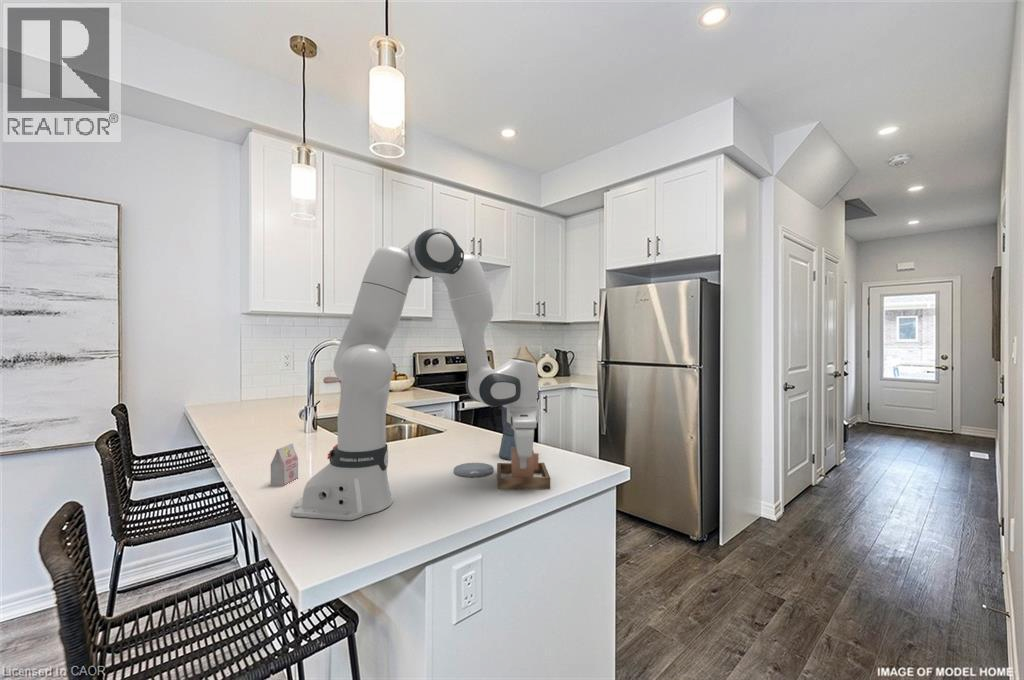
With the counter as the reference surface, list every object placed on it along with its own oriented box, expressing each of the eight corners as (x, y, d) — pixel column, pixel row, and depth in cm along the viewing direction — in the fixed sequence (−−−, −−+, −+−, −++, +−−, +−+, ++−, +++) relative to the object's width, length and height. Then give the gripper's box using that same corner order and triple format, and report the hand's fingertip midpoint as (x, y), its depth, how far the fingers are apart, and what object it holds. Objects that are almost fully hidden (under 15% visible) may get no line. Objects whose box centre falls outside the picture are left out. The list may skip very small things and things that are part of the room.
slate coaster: (451, 477, 128) (451, 475, 128) (455, 465, 140) (455, 462, 140) (493, 477, 129) (493, 474, 129) (493, 465, 141) (493, 462, 141)
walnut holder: (497, 489, 119) (497, 478, 119) (497, 473, 133) (497, 463, 133) (550, 489, 119) (550, 477, 119) (544, 472, 133) (544, 462, 133)
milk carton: (270, 486, 121) (270, 449, 121) (286, 478, 128) (285, 443, 127) (283, 486, 120) (283, 450, 120) (298, 478, 127) (298, 443, 127)
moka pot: (534, 461, 145) (535, 399, 145) (487, 460, 145) (487, 399, 145) (533, 453, 155) (534, 395, 154) (489, 452, 155) (489, 395, 155)
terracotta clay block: (511, 480, 124) (512, 451, 124) (511, 474, 128) (511, 447, 128) (538, 479, 124) (539, 451, 124) (537, 474, 129) (537, 447, 128)
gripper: (509, 409, 136) (509, 454, 136) (512, 423, 116) (512, 476, 116) (530, 409, 136) (530, 454, 137) (537, 423, 116) (536, 476, 116)
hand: (522, 464), depth 126 cm, fingers closed on terracotta clay block, 4 cm apart
